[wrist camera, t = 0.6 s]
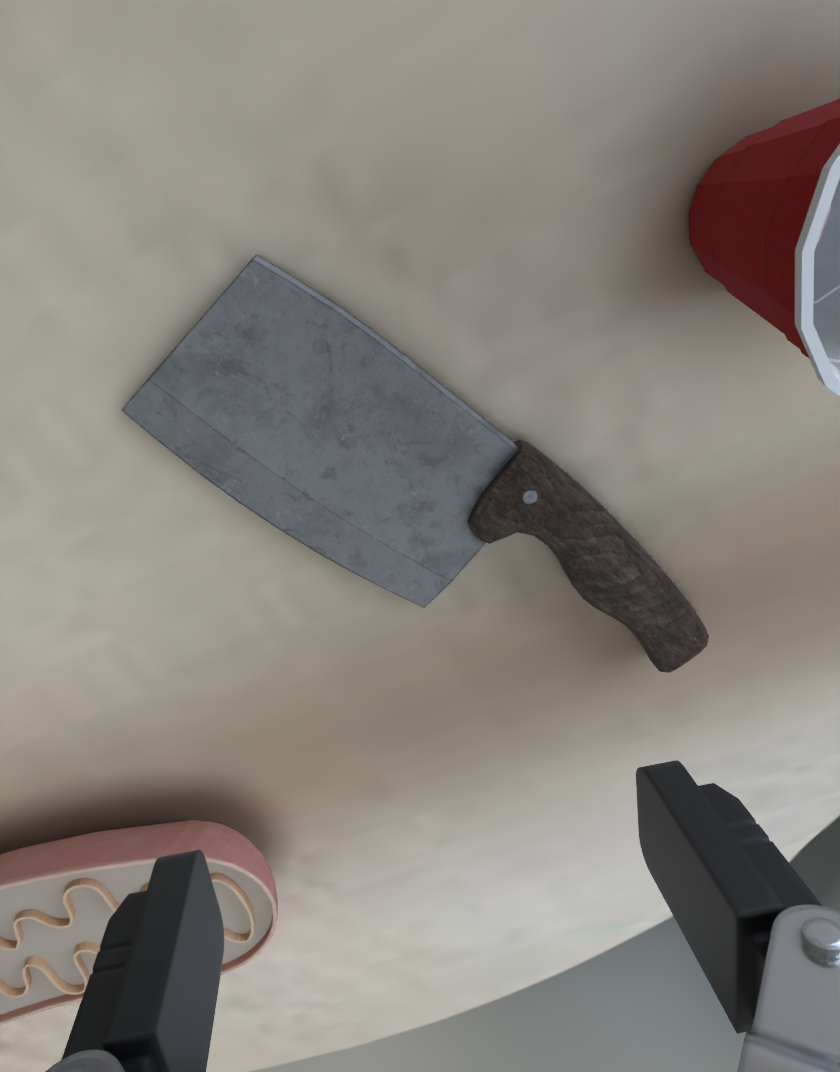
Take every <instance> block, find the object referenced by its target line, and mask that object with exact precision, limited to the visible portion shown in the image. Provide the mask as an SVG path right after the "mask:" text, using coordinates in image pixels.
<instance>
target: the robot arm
mask: <svg viewBox="0 0 840 1072" xmlns="http://www.w3.org/2000/svg"><path fill="white" fill-rule="evenodd" d="M636 785H637V805H638V825H639V838H640V844H641V848H642V852H643V856H644V859H645V862H646V864H647V867H648V869H649V871H650V873H651V875H652V877H653V879H654V880H655V882H656V884H657V886H658V888H659V890H660V892H661V893H662V895H663V897H664V899H665V901H666V903H667V905H668V906H669V908H670V910H671V912H672V914H673V916H674V917H675V919H676V921H677V923H678V925H679V927H680V929H681V930H682V932H683V934H684V936H685V938H686V940H687V941H688V943H689V945H690V947H691V949H692V951H693V952H694V954H695V956H696V958H697V960H698V962H699V964H700V966H701V968H702V969H703V971H704V973H705V975H706V977H707V979H708V981H709V982H710V984H711V986H712V988H713V990H714V992H715V993H716V995H717V997H718V999H719V1001H720V1003H721V1005H722V1006H723V1008H724V1010H725V1012H726V1014H727V1016H728V1018H729V1020H730V1021H731V1023H732V1025H733V1027H734V1029H735V1031H736V1032H737V1033H742V1032H746V1035H745V1039H744V1042H743V1047H742V1052H741V1057H740V1062H739V1067H738V1071H737V1072H840V912H839V911H837V910H834V909H831V908H828V907H824V906H822V905H821V904H820V902H819V901H818V900H817V899H816V897H815V896H814V895H813V893H812V892H811V891H810V890H809V888H808V887H807V886H806V885H805V883H804V882H803V881H802V879H801V878H800V877H799V876H798V874H797V873H796V872H795V870H794V869H793V868H792V867H791V865H790V864H789V863H788V861H787V860H786V859H785V858H784V856H783V855H782V854H781V852H780V851H779V850H778V849H777V847H776V846H775V845H774V843H773V842H770V841H769V837H768V836H767V835H766V833H765V832H764V831H763V829H762V828H761V827H760V826H759V824H756V822H755V819H754V818H753V817H752V815H751V814H750V813H749V812H748V810H747V809H746V808H745V806H744V805H743V804H742V803H741V801H740V800H739V799H738V798H736V797H735V796H733V795H731V794H730V793H728V792H727V791H725V790H724V789H722V788H721V787H719V786H717V785H716V784H714V783H712V784H707V785H701V786H698V785H697V784H696V783H695V781H694V780H693V779H692V777H691V776H690V774H689V773H688V772H687V770H686V769H685V767H684V766H683V765H682V764H681V763H680V762H679V761H671V762H666V763H661V764H655V765H650V766H645V767H639V768H638V769H637V772H636ZM223 954H224V927H223V920H222V915H221V911H220V908H219V904H218V901H217V897H216V894H215V890H214V887H213V883H212V880H211V876H210V873H209V869H208V866H207V862H206V859H205V856H204V854H203V852H202V851H201V850H194V851H189V852H183V853H178V854H173V855H167V856H162V857H158V858H157V859H156V861H155V864H154V867H153V870H152V874H151V877H150V881H149V884H148V888H147V890H146V891H141V892H136V893H131V894H128V896H127V897H126V898H125V899H124V901H123V902H122V903H121V905H120V906H119V907H118V908H117V910H116V911H115V912H114V914H113V915H112V916H111V917H110V919H109V921H108V924H107V927H106V930H105V933H104V936H103V939H102V942H101V944H100V952H98V953H97V956H96V959H95V962H94V965H93V968H92V969H93V973H92V974H90V977H89V980H88V983H87V986H86V989H85V992H84V995H83V998H82V1001H81V1004H80V1007H79V1010H78V1013H77V1016H76V1019H75V1022H74V1025H73V1028H72V1031H71V1034H70V1037H69V1039H68V1042H67V1045H66V1048H65V1051H64V1054H63V1057H62V1060H61V1061H59V1062H58V1063H56V1064H55V1065H53V1066H52V1067H51V1068H49V1069H48V1070H47V1071H46V1072H206V1067H207V1060H208V1053H209V1047H210V1040H211V1034H212V1027H213V1020H214V1014H215V1007H216V1001H217V994H218V987H219V981H220V974H221V968H222V961H223ZM751 1030H752V1031H751Z"/></svg>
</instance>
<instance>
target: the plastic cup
mask: <svg viewBox="0 0 840 1072" xmlns="http://www.w3.org/2000/svg"><path fill="white" fill-rule="evenodd" d="M689 224H690V239H691V245H692V247H693V249H694V251H695V253H696V255H697V257H698V259H699V261H700V263H701V265H702V266H703V268H704V270H705V272H707V273H708V274H709V275H711V276H712V277H713V278H715V279H716V280H718V281H719V282H720V283H722V284H723V285H724V286H725V287H726V289H727V291H728V292H729V293H731V294H732V295H733V296H735V297H736V298H737V299H739V300H740V301H741V302H743V303H744V304H745V305H747V306H748V307H749V308H751V309H752V310H753V311H755V312H756V313H757V314H759V315H760V316H761V317H763V318H764V319H765V320H767V321H768V322H769V323H771V324H772V325H773V326H775V327H776V328H777V329H779V330H780V331H781V332H783V333H784V334H785V336H786V338H787V340H789V341H790V342H791V343H793V344H794V345H795V346H797V347H798V348H799V349H800V350H801V352H802V353H803V354H804V355H805V356H807V357H808V358H809V359H810V360H811V363H812V365H813V367H814V370H815V372H816V374H817V377H818V379H819V380H820V381H821V382H822V383H823V384H824V385H825V386H826V387H827V388H829V389H830V390H831V391H833V392H834V393H836V394H837V395H838V396H840V99H838V100H835V101H833V102H830V103H827V104H825V105H822V106H820V107H817V108H814V109H812V110H809V111H806V112H804V113H801V114H798V115H796V116H793V117H790V118H788V119H785V120H782V121H780V122H779V123H778V124H776V125H775V126H774V127H772V128H769V129H766V130H763V131H760V132H758V133H755V134H752V135H749V136H746V137H745V138H744V139H742V140H741V141H740V142H738V143H737V144H736V145H734V146H733V147H732V148H730V149H729V150H728V151H726V152H725V153H724V154H722V155H721V156H720V157H719V158H717V159H716V160H715V161H714V162H713V164H712V165H711V167H710V168H709V170H708V171H707V173H706V174H705V176H704V177H703V179H702V180H701V181H700V183H699V184H698V186H697V189H696V192H695V196H694V199H693V203H692V207H691V210H690V214H689Z"/></svg>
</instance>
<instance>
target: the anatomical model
mask: <svg viewBox="0 0 840 1072" xmlns="http://www.w3.org/2000/svg"><path fill="white" fill-rule="evenodd" d="M194 850H201V851H202V852H203V854H204V856H205V859H206V862H207V866H208V869H209V873H210V876H211V880H212V883H213V887H214V890H215V894H216V897H217V901H218V904H219V908H220V911H221V915H222V920H223V927H224V954H223V961H222V968H221V974H220V975H222V974H224V973H226V972H229V971H231V970H233V969H236V968H238V967H240V966H242V965H244V964H245V963H247V962H248V961H250V960H251V959H252V958H254V957H255V956H256V955H258V954H259V953H260V952H261V951H262V949H263V948H264V947H265V946H266V945H267V943H268V942H269V941H270V939H271V937H272V935H273V933H274V930H275V927H276V923H277V906H278V900H277V894H276V888H275V882H274V879H273V876H272V873H271V870H270V867H269V866H268V864H267V862H266V860H265V858H264V857H263V856H262V854H261V853H260V852H259V850H258V849H257V848H256V847H255V846H254V844H253V843H252V842H251V841H250V840H249V839H247V838H246V837H245V836H244V835H242V834H241V833H239V832H238V831H236V830H234V829H232V828H230V827H228V826H225V825H222V824H219V823H216V822H207V821H199V820H189V821H180V822H172V823H164V824H156V825H148V826H140V827H132V828H123V829H115V830H107V831H99V832H94V833H89V834H84V835H80V836H75V837H70V838H66V839H61V840H56V841H51V842H47V843H42V844H37V845H33V846H28V847H23V848H20V849H17V850H13V851H10V852H7V853H3V854H0V1025H2V1024H4V1023H7V1022H10V1021H13V1020H16V1019H19V1018H22V1017H25V1016H28V1015H31V1014H34V1013H38V1012H41V1011H44V1010H47V1009H51V1008H55V1007H58V1006H62V1005H65V1004H69V1003H73V1002H76V1001H80V1000H82V998H83V995H84V992H85V989H86V986H87V983H88V980H89V977H90V974H92V973H93V969H92V968H93V965H94V962H95V959H96V956H97V953H98V952H100V944H101V942H102V939H103V936H104V933H105V930H106V927H107V924H108V921H109V919H110V917H111V916H112V915H113V914H114V912H115V911H116V910H117V908H118V907H119V906H120V905H121V903H122V902H123V901H124V899H125V898H126V897H127V896H128V894H131V893H136V892H141V891H146V890H147V888H148V884H149V881H150V877H151V874H152V870H153V867H154V864H155V861H156V859H157V858H158V857H162V856H167V855H173V854H178V853H183V852H189V851H194Z"/></svg>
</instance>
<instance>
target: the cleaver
mask: <svg viewBox="0 0 840 1072" xmlns="http://www.w3.org/2000/svg"><path fill="white" fill-rule="evenodd" d="M122 411H123V412H124V413H125V414H126V415H128V416H129V417H130V418H131V419H132V420H134V421H135V422H136V423H137V424H139V425H140V426H141V427H142V428H143V429H145V430H146V431H147V432H148V433H149V434H151V435H152V436H153V437H154V438H155V439H157V440H158V441H159V442H160V443H161V444H163V445H164V446H165V447H167V448H168V449H169V450H170V451H172V452H173V453H174V454H175V455H177V456H178V457H179V458H180V459H182V460H183V461H184V462H185V463H187V464H188V465H189V466H191V467H192V468H193V469H194V470H196V471H197V472H198V473H199V474H201V475H202V476H203V477H205V478H206V479H208V480H209V481H210V482H212V483H213V484H214V485H216V486H217V487H219V488H220V489H221V490H223V491H224V492H225V493H227V494H228V495H230V496H231V497H232V498H234V499H235V500H236V501H238V502H239V503H241V504H242V505H244V506H245V507H247V508H248V509H250V510H251V511H253V512H254V513H256V514H257V515H259V516H260V517H262V518H263V519H265V520H266V521H268V522H269V523H271V524H272V525H274V526H275V527H277V528H278V529H280V530H281V531H283V532H285V533H286V534H288V535H289V536H291V537H293V538H294V539H296V540H298V541H299V542H301V543H302V544H304V545H306V546H307V547H309V548H311V549H312V550H314V551H316V552H317V553H319V554H321V555H323V556H324V557H326V558H328V559H330V560H332V561H333V562H335V563H337V564H339V565H340V566H342V567H344V568H346V569H347V570H349V571H351V572H353V573H355V574H357V575H359V576H361V577H363V578H365V579H367V580H369V581H371V582H372V583H374V584H376V585H378V586H380V587H382V588H384V589H386V590H388V591H390V592H392V593H394V594H396V595H398V596H400V597H403V598H405V599H407V600H409V601H411V602H413V603H415V604H417V605H419V606H421V607H423V608H425V607H426V606H427V605H428V604H429V603H430V602H431V601H432V600H433V599H434V598H435V597H436V596H437V595H438V594H439V593H440V592H441V591H442V590H443V589H444V588H445V587H446V586H447V585H449V584H450V583H451V582H452V581H453V579H454V578H455V577H456V576H457V575H458V574H459V573H460V571H461V570H462V569H463V568H464V567H465V566H466V565H467V563H468V562H469V561H470V560H471V559H472V558H473V557H474V556H475V554H476V553H477V552H478V551H479V550H480V549H481V548H482V546H483V545H484V544H485V543H486V542H487V543H489V544H490V543H492V542H495V541H497V540H500V539H502V538H505V537H507V536H509V535H512V534H514V533H516V532H519V533H524V534H529V535H534V536H535V537H537V538H538V539H540V540H541V541H542V542H544V543H545V544H547V545H548V546H549V547H550V549H551V550H552V551H553V552H554V554H555V555H556V556H557V558H558V560H559V561H560V563H561V565H562V567H563V569H564V571H565V572H566V574H567V576H568V578H569V580H570V582H571V583H572V585H573V586H574V587H575V589H576V590H577V591H578V593H579V594H580V595H581V596H582V598H583V599H584V600H586V601H587V602H588V603H590V604H591V605H592V606H594V607H595V608H597V609H598V610H600V611H602V612H604V613H606V614H608V615H609V616H611V617H613V618H615V619H616V620H618V621H620V622H622V623H623V624H624V625H626V626H627V627H628V628H629V629H630V630H631V631H632V632H633V633H634V634H635V635H636V636H637V638H638V640H639V641H640V643H641V644H642V646H643V648H644V649H645V651H646V653H647V655H648V657H649V658H650V660H651V661H652V663H653V664H654V665H655V666H656V668H657V669H658V670H659V671H661V672H671V671H673V670H675V669H677V668H679V667H681V666H682V665H683V664H685V663H686V662H688V661H689V660H691V659H692V658H693V657H695V656H696V655H697V654H699V653H700V652H701V651H702V650H703V649H704V648H705V647H706V646H707V643H708V638H709V635H708V633H707V631H706V628H705V626H704V624H703V623H702V621H701V620H700V618H699V617H698V615H697V614H696V612H695V611H694V609H693V608H692V606H691V605H690V604H689V602H688V601H687V600H686V598H685V597H684V596H683V594H682V593H681V592H680V590H679V589H678V588H677V587H676V586H675V584H674V583H673V582H672V581H671V579H670V578H669V577H668V576H667V575H666V574H665V573H664V571H663V570H662V569H661V568H660V567H659V566H658V565H657V564H656V562H655V561H654V560H653V559H652V558H651V557H650V556H649V555H648V554H647V552H646V551H645V550H644V549H643V548H642V547H641V546H640V545H639V544H638V543H637V542H636V541H635V539H634V538H633V537H632V536H631V535H630V534H629V533H628V532H627V531H626V530H625V529H624V528H623V527H622V526H621V525H620V524H619V523H618V522H617V521H616V520H615V519H614V518H613V517H612V516H611V515H610V514H609V512H608V511H607V510H606V509H605V508H604V507H603V506H601V505H600V504H599V503H598V502H597V501H596V500H595V499H594V498H593V497H592V496H591V495H590V494H589V493H588V492H587V491H586V490H584V489H583V488H582V487H581V486H580V485H579V484H578V483H577V482H576V481H574V480H573V479H572V478H571V477H570V476H569V475H567V474H566V473H565V472H564V471H563V470H562V469H560V468H559V467H558V466H557V465H556V464H554V463H553V462H552V461H551V460H550V459H548V458H547V457H546V456H545V455H543V454H542V453H541V452H540V451H538V450H537V449H536V448H534V447H533V446H531V445H530V444H528V443H527V442H525V441H522V440H517V441H515V442H512V441H511V440H510V439H509V438H507V437H506V436H505V435H504V434H502V433H501V432H500V431H499V430H497V429H496V428H495V427H494V426H492V425H491V424H490V423H489V422H487V421H486V420H485V419H484V418H482V417H481V416H480V415H479V414H477V413H476V412H475V411H474V410H472V409H471V408H470V407H469V406H467V405H466V404H465V403H464V402H462V401H461V400H460V399H459V398H457V397H456V396H455V395H454V394H452V393H451V392H450V391H449V390H447V389H446V388H445V387H443V386H442V385H441V384H440V383H438V382H437V381H436V380H435V379H433V378H432V377H431V376H430V375H428V374H427V373H426V372H425V371H423V370H422V369H421V368H420V367H418V366H417V365H416V364H415V363H413V362H412V361H411V360H410V359H408V358H407V357H406V356H404V355H403V354H402V353H401V352H399V351H398V350H397V349H396V348H394V347H393V346H392V345H391V344H389V343H388V342H387V341H385V340H384V339H383V338H382V337H380V336H379V335H378V334H376V333H375V332H374V331H372V330H371V329H370V328H368V327H367V326H366V325H364V324H363V323H361V322H360V321H359V320H357V319H356V318H355V317H353V316H352V315H350V314H349V313H348V312H346V311H345V310H344V309H342V308H341V307H339V306H338V305H336V304H335V303H333V302H332V301H330V300H328V299H327V298H325V297H324V296H322V295H321V294H319V293H318V292H316V291H315V290H313V289H311V288H310V287H308V286H307V285H305V284H304V283H302V282H301V281H299V280H297V279H296V278H294V277H292V276H291V275H289V274H287V273H286V272H284V271H282V270H281V269H279V268H277V267H275V266H274V265H272V264H270V263H269V262H267V261H265V260H264V259H262V258H260V257H259V256H257V255H255V256H254V258H253V259H252V260H251V261H250V262H249V263H248V265H247V266H246V267H245V268H244V269H243V270H242V271H241V273H240V274H239V275H238V276H237V277H236V278H235V280H234V281H233V282H232V283H231V284H230V285H229V287H228V288H227V289H226V290H225V291H224V292H223V294H222V295H221V296H220V297H219V298H218V299H217V300H216V302H215V303H214V304H213V305H212V306H211V307H210V309H209V310H208V311H207V312H206V313H205V314H204V316H203V317H202V318H201V319H200V320H199V321H198V322H197V324H196V325H195V326H194V327H193V328H192V329H191V331H190V332H189V333H188V334H187V335H186V336H185V337H184V339H183V340H182V341H181V342H180V343H179V344H178V346H177V347H176V348H175V349H174V350H173V351H172V352H171V354H170V355H169V356H168V357H167V358H166V359H165V361H164V362H163V363H162V364H161V365H160V366H159V367H158V369H157V370H156V371H155V372H154V373H153V374H152V376H151V377H150V378H149V379H148V380H147V381H146V382H145V384H144V385H143V386H142V387H141V388H140V389H139V391H138V392H137V393H136V394H135V395H134V396H133V398H132V399H131V400H130V401H129V402H128V403H127V404H126V406H125V407H124V408H123V409H122Z"/></svg>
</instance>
